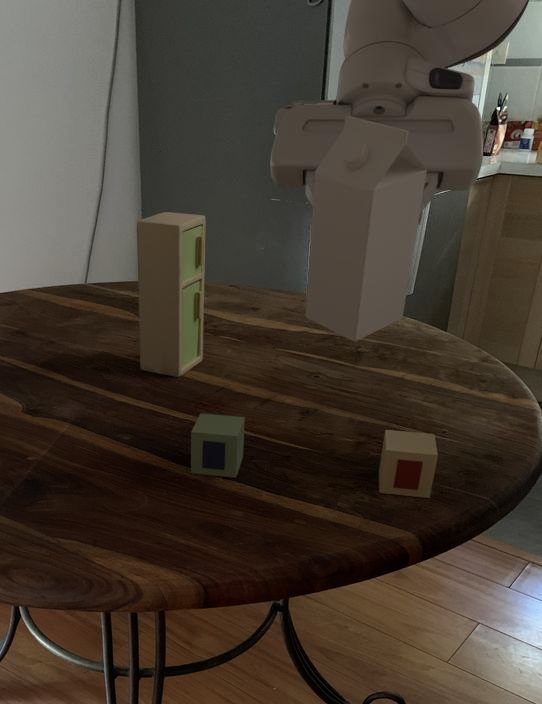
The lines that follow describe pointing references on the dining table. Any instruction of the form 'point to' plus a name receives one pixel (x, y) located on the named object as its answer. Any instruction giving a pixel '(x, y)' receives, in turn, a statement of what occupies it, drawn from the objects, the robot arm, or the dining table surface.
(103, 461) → the dining table surface
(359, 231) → the milk carton
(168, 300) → the toy refrigerator
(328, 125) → the robot arm
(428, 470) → the cream letter block
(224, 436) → the sage letter block
